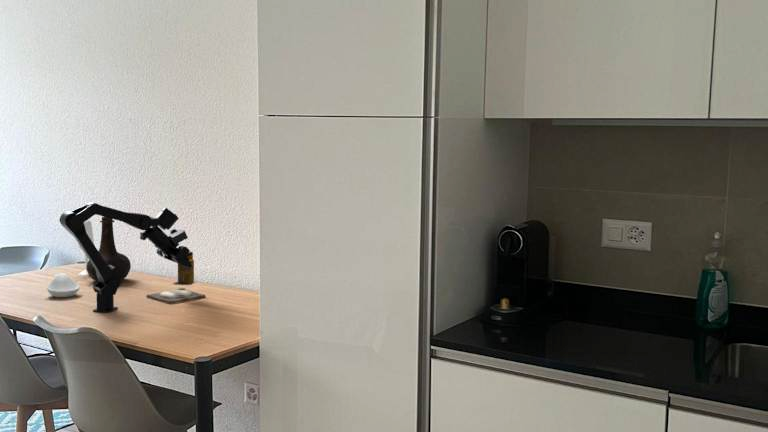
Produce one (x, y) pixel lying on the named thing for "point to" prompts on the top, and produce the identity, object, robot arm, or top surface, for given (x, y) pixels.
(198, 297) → the brown flat square slab
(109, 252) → the glass bottle
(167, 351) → the top surface
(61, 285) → the spoon rest
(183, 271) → the condiment
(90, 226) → the champagne flute
